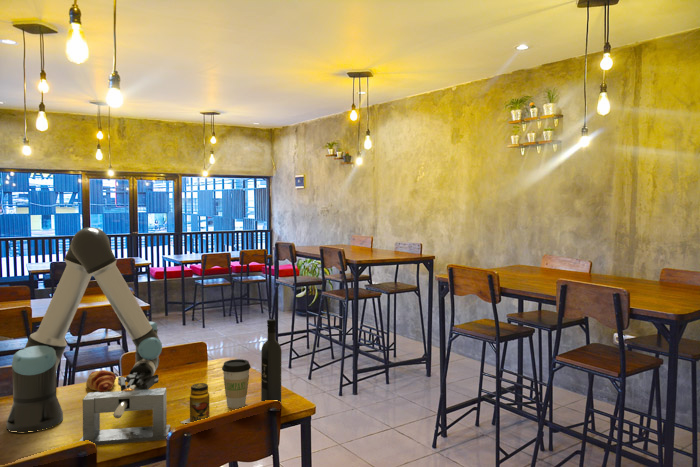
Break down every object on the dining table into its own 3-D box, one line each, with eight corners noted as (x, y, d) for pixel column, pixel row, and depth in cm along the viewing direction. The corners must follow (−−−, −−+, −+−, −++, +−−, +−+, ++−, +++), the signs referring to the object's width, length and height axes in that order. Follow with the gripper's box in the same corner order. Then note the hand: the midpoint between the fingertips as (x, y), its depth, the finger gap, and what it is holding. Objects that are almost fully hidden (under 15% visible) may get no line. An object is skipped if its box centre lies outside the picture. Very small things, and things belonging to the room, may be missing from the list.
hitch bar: (78, 446, 145) (77, 401, 144) (86, 435, 152) (85, 391, 152) (166, 439, 150) (166, 395, 149) (170, 428, 158) (170, 386, 157)
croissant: (88, 389, 202) (77, 373, 200) (111, 373, 208) (101, 357, 205) (99, 404, 185) (87, 387, 183) (125, 386, 191) (114, 369, 188)
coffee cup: (215, 407, 175) (215, 364, 175) (234, 398, 184) (234, 357, 184) (238, 412, 171) (238, 368, 170) (256, 403, 180) (256, 361, 179)
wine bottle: (268, 408, 174) (268, 322, 173) (260, 404, 178) (260, 319, 177) (282, 405, 178) (282, 320, 177) (273, 400, 182) (274, 317, 181)
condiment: (199, 428, 158) (199, 390, 157) (179, 422, 162) (179, 385, 162) (215, 420, 164) (215, 383, 164) (196, 415, 168) (196, 379, 168)
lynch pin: (107, 424, 140) (107, 405, 140) (119, 405, 154) (119, 388, 154) (127, 422, 141) (127, 404, 141) (137, 404, 155) (137, 387, 155)
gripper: (122, 363, 176) (105, 385, 153) (161, 361, 179) (151, 382, 156) (122, 384, 176) (106, 410, 153) (162, 382, 179) (151, 406, 156)
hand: (129, 396), depth 154 cm, fingers closed
